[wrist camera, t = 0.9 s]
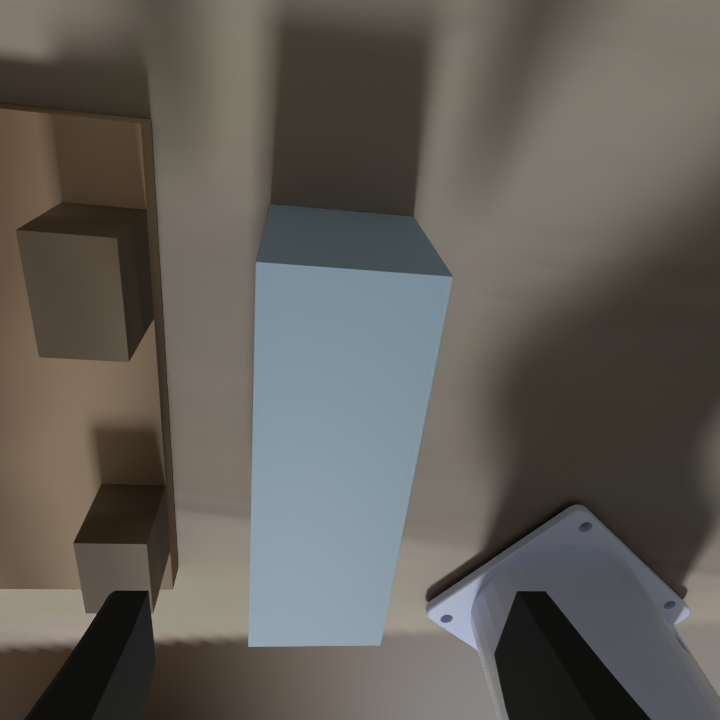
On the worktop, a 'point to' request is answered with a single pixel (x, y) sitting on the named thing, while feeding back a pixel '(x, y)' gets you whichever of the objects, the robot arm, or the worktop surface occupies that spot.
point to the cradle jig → (82, 359)
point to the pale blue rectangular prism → (337, 417)
